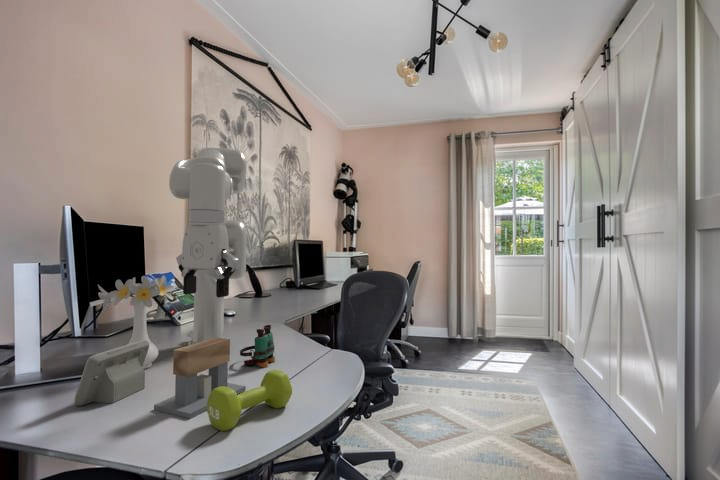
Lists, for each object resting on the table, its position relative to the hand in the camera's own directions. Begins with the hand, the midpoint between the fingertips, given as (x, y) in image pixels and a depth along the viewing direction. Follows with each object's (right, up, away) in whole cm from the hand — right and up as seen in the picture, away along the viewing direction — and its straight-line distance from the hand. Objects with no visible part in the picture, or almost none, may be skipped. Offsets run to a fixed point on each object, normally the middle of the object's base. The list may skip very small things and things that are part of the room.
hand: (205, 295), depth 86 cm
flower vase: (-26, -23, +18) cm, 39 cm away
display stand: (0, -22, -3) cm, 23 cm away
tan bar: (0, -15, -3) cm, 16 cm away
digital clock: (-21, -23, 0) cm, 31 cm away
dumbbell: (+13, -23, -10) cm, 28 cm away
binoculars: (+5, -23, +23) cm, 33 cm away
